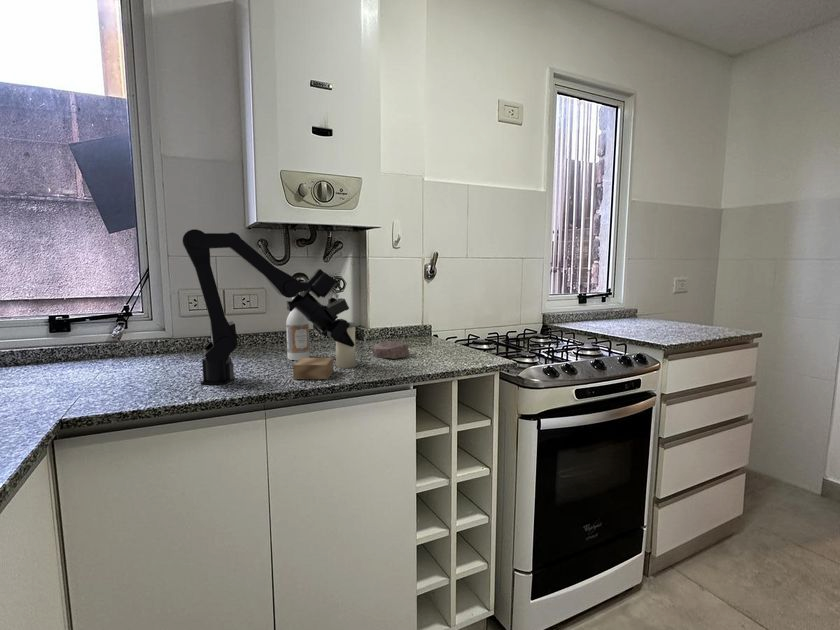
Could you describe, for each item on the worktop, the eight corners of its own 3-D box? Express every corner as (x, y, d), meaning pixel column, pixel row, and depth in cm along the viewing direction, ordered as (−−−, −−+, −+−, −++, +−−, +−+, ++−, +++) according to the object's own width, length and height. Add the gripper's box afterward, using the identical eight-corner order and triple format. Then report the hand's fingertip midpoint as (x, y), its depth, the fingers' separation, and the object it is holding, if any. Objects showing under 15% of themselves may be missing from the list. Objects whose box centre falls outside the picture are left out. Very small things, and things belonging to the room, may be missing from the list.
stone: (367, 355, 148) (367, 342, 147) (388, 352, 154) (388, 339, 154) (390, 361, 139) (390, 346, 139) (411, 357, 146) (411, 343, 145)
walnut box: (293, 379, 117) (293, 365, 117) (302, 371, 126) (301, 357, 126) (327, 379, 117) (326, 365, 117) (333, 371, 126) (333, 357, 126)
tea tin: (334, 368, 130) (333, 325, 128) (337, 363, 136) (336, 322, 134) (354, 368, 130) (353, 325, 128) (357, 363, 136) (356, 322, 134)
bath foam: (291, 362, 138) (289, 298, 135) (284, 358, 143) (282, 297, 141) (312, 359, 141) (310, 297, 139) (305, 355, 147) (303, 296, 145)
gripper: (342, 291, 120) (379, 328, 126) (322, 287, 136) (356, 320, 143) (314, 321, 117) (354, 357, 124) (297, 314, 133) (333, 346, 140)
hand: (349, 344), depth 132 cm, fingers closed on tea tin, 6 cm apart
